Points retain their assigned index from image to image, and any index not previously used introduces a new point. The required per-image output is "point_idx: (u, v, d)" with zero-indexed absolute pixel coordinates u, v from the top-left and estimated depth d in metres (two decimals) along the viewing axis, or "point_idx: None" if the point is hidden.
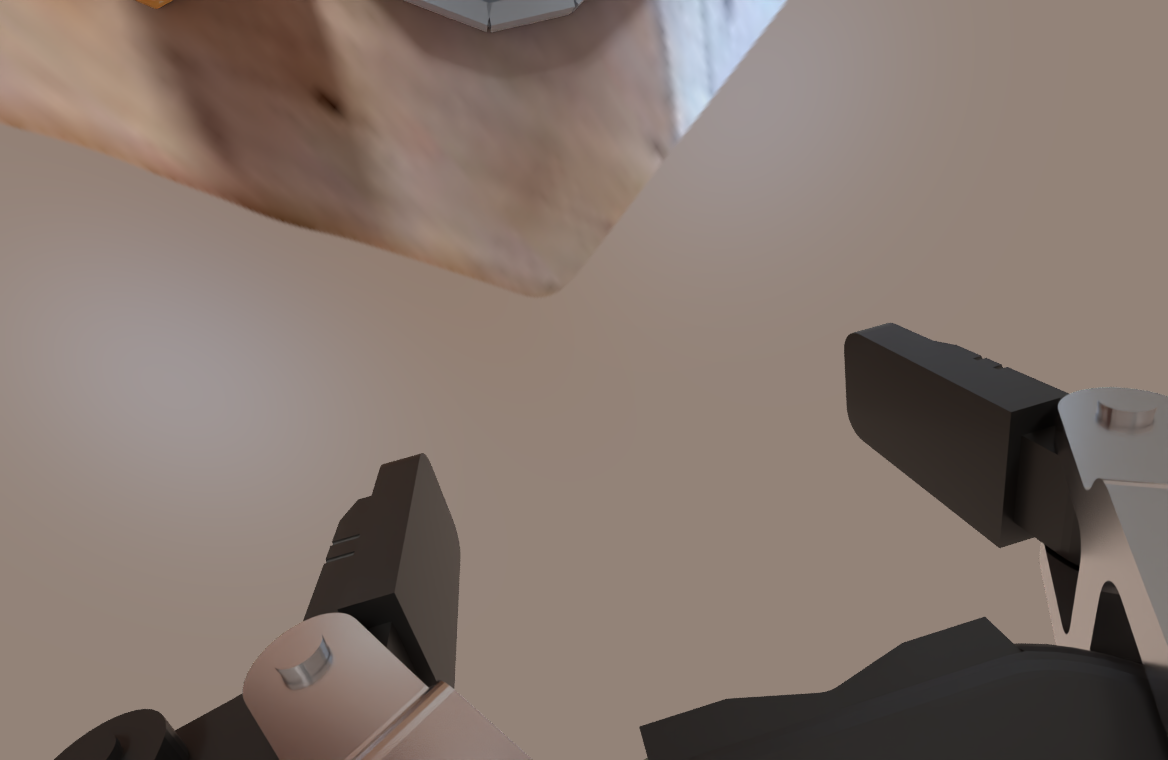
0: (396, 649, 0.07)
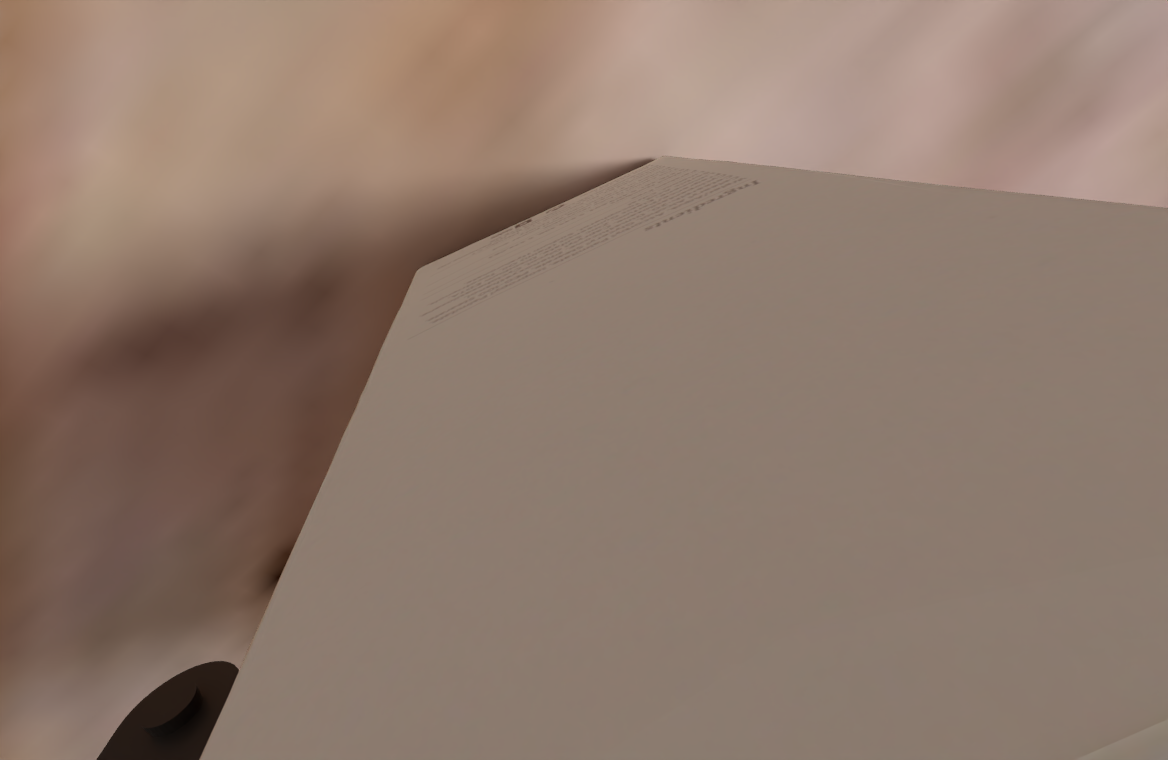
0: None
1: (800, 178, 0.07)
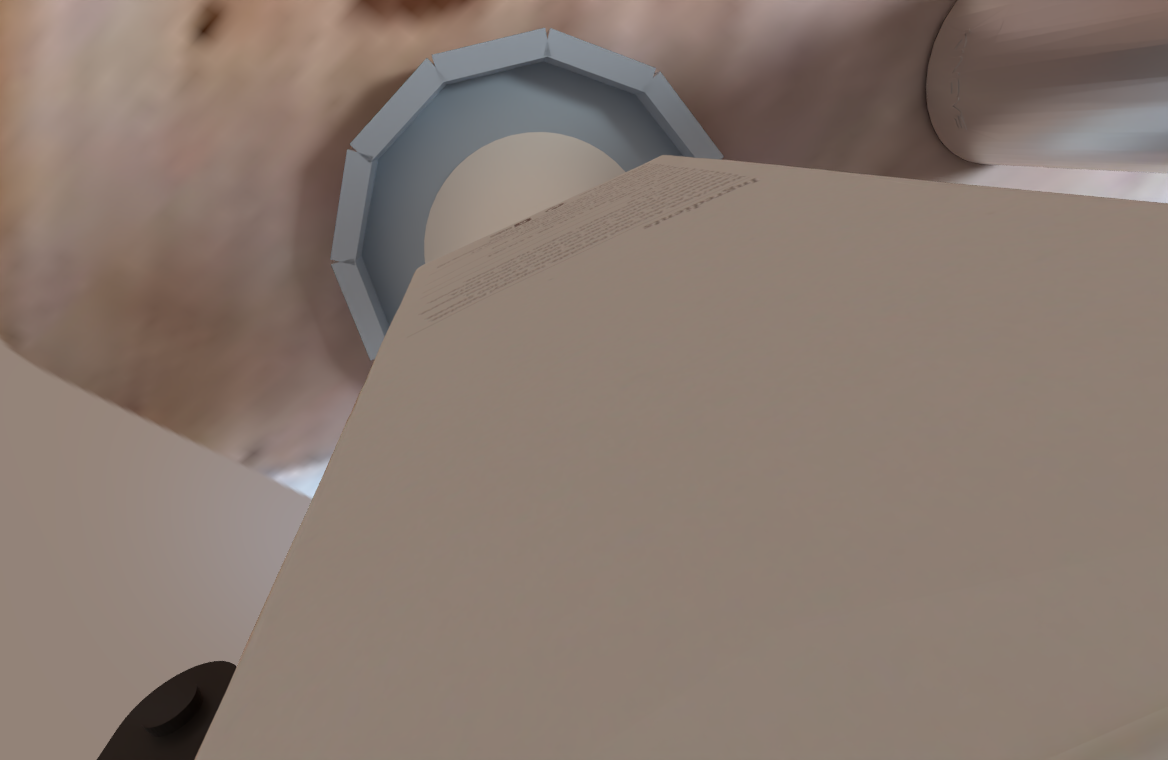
0: None
1: (799, 176, 0.07)
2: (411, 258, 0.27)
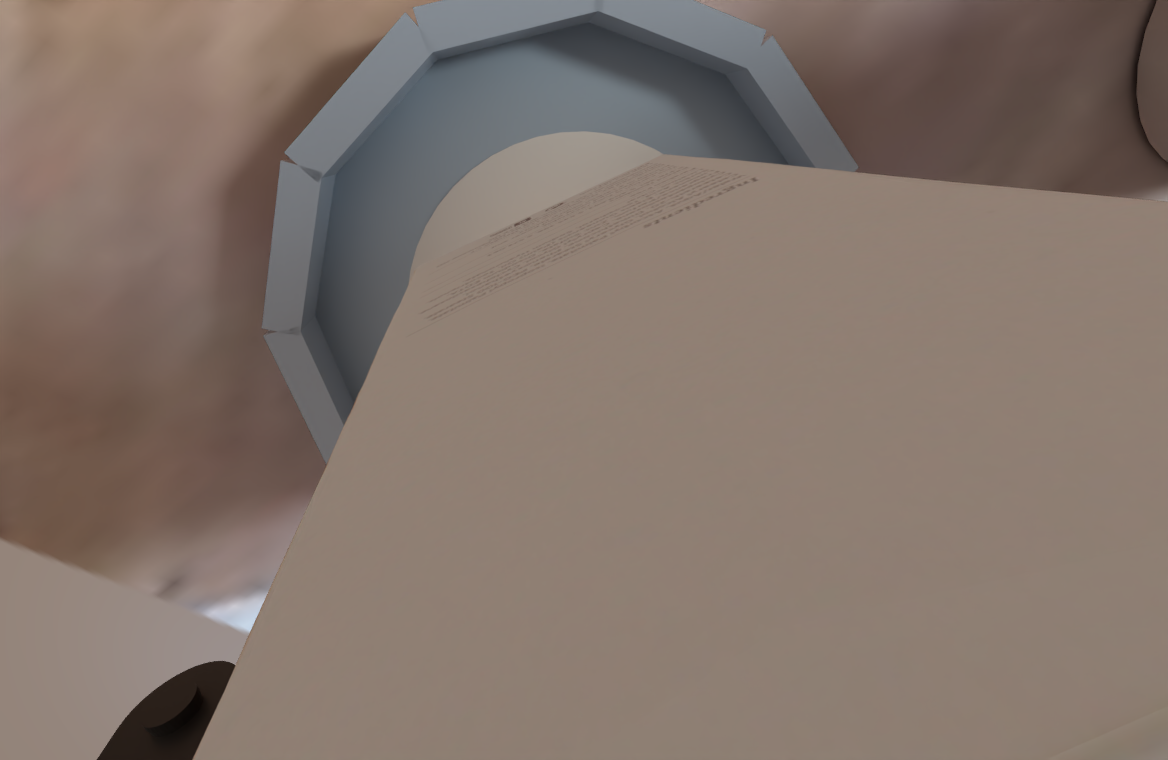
0: None
1: (799, 175, 0.07)
2: (389, 319, 0.18)
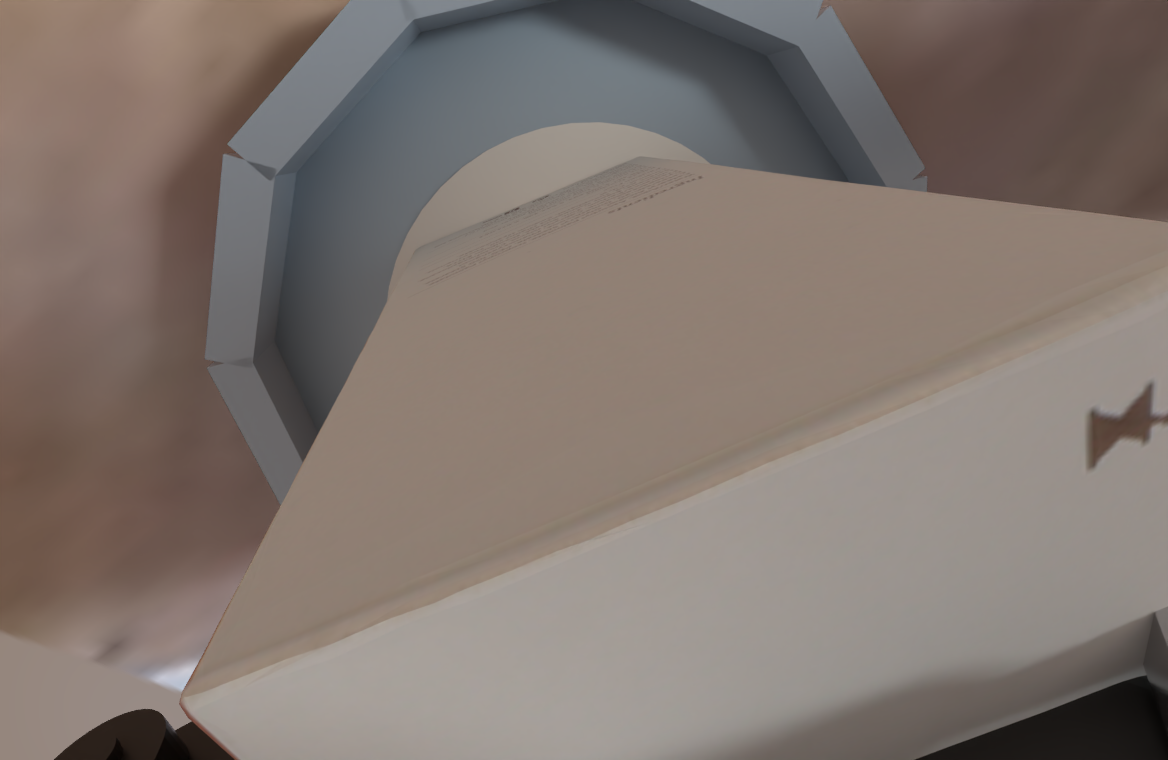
0: None
1: (733, 174, 0.09)
2: (364, 344, 0.16)
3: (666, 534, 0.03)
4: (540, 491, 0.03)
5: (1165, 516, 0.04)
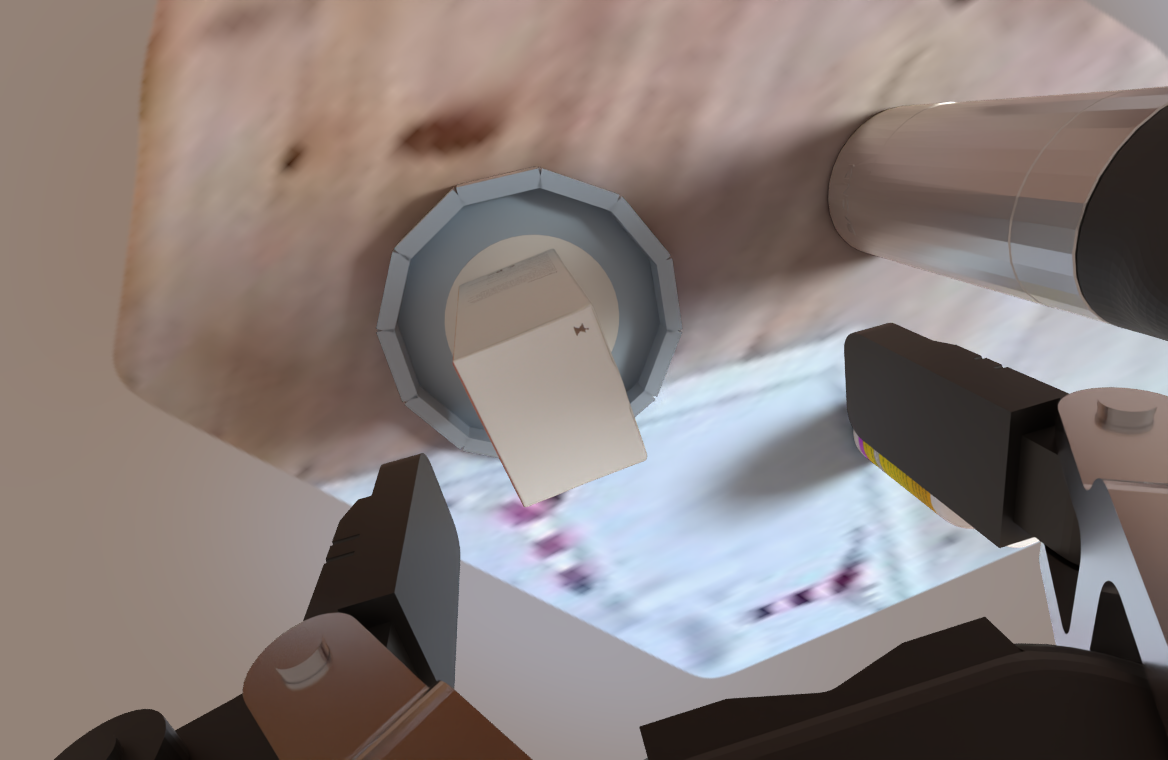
0: (396, 649, 0.07)
1: (563, 273, 0.29)
2: (434, 325, 0.36)
3: (515, 341, 0.24)
4: (500, 338, 0.24)
5: (596, 345, 0.24)
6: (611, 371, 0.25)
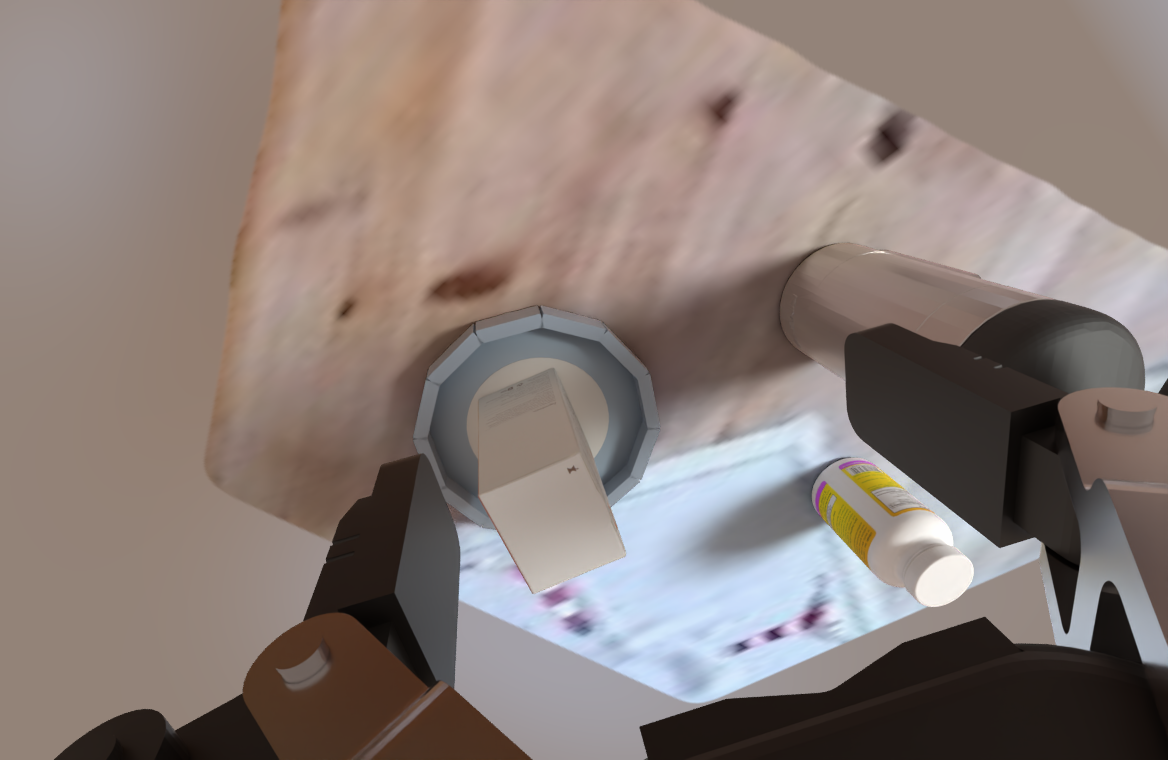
0: (396, 649, 0.07)
1: (560, 406, 0.37)
2: (458, 429, 0.44)
3: (524, 480, 0.32)
4: (512, 476, 0.32)
5: (584, 479, 0.33)
6: (596, 496, 0.33)
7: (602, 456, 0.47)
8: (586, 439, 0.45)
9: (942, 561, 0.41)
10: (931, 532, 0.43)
